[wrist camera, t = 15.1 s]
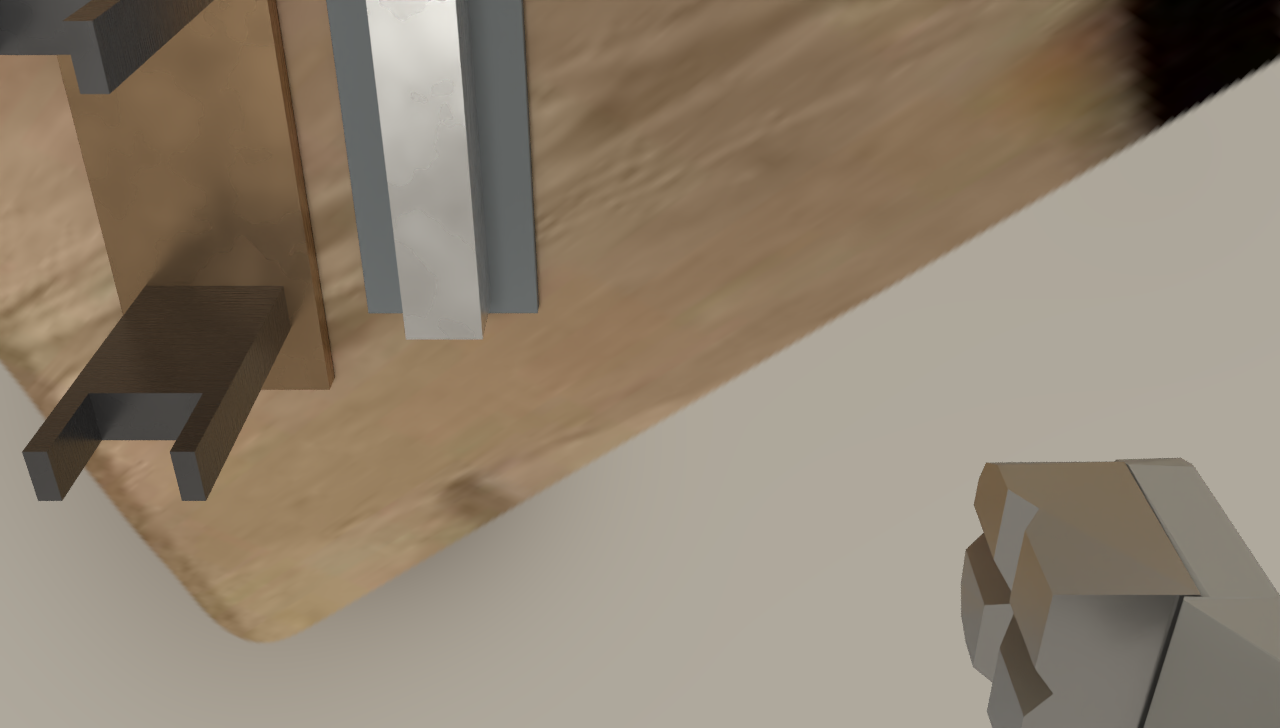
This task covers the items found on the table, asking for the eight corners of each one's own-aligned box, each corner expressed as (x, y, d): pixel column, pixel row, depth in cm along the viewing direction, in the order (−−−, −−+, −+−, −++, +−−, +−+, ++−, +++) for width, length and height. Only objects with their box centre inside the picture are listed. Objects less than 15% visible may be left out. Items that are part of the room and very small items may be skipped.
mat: (509, -256, 40) (508, -254, 40) (538, 306, 51) (537, 313, 51) (296, -255, 40) (292, -254, 40) (371, 306, 51) (368, 313, 51)
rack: (248, -173, 41) (111, -98, 31) (334, 376, 53) (257, 569, 42) (13, -172, 41) (-206, -98, 31) (150, 377, 53) (26, 569, 42)
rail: (358, -237, 40) (339, -226, 37) (450, -237, 40) (437, -227, 37) (418, 302, 50) (405, 339, 48) (490, 302, 50) (482, 339, 48)
